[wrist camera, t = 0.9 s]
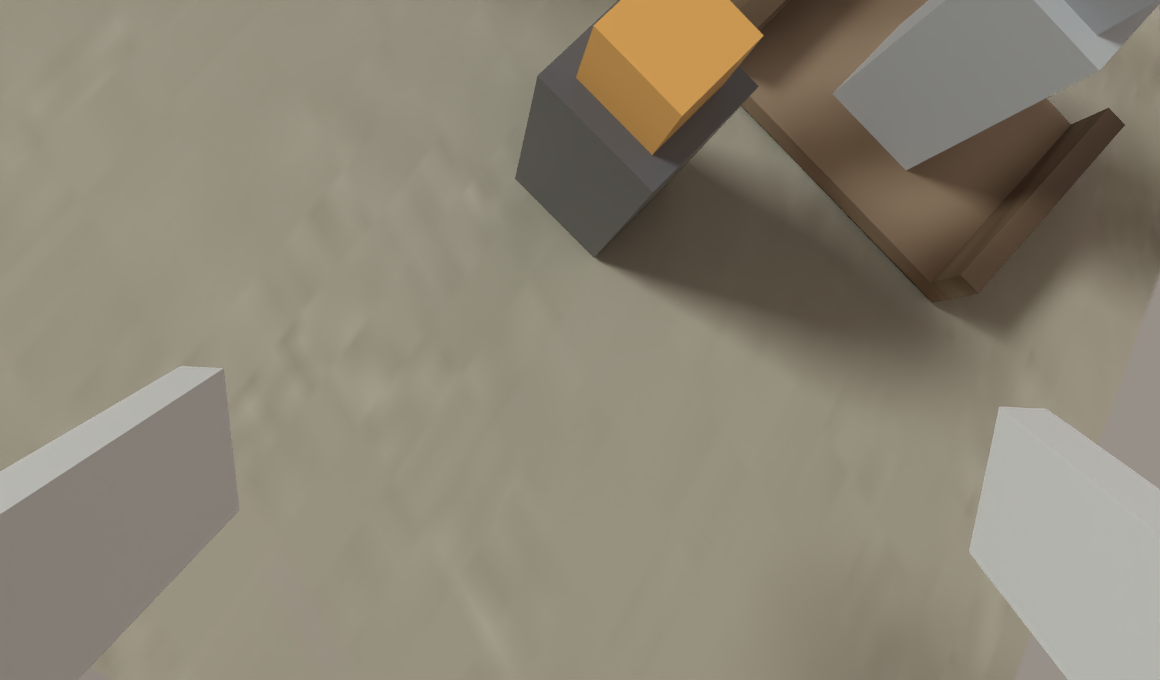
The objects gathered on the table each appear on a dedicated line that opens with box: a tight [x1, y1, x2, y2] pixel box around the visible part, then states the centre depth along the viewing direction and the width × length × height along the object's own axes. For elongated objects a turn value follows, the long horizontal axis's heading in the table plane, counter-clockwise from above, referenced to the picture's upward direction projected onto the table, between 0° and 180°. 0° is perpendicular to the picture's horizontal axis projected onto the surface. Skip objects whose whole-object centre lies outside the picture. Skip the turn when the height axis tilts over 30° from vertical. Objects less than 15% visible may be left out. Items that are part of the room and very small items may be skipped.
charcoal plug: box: [515, 0, 764, 257], centre depth 25 cm, size 4×4×13 cm
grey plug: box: [833, 0, 1160, 170], centre depth 26 cm, size 4×4×13 cm
